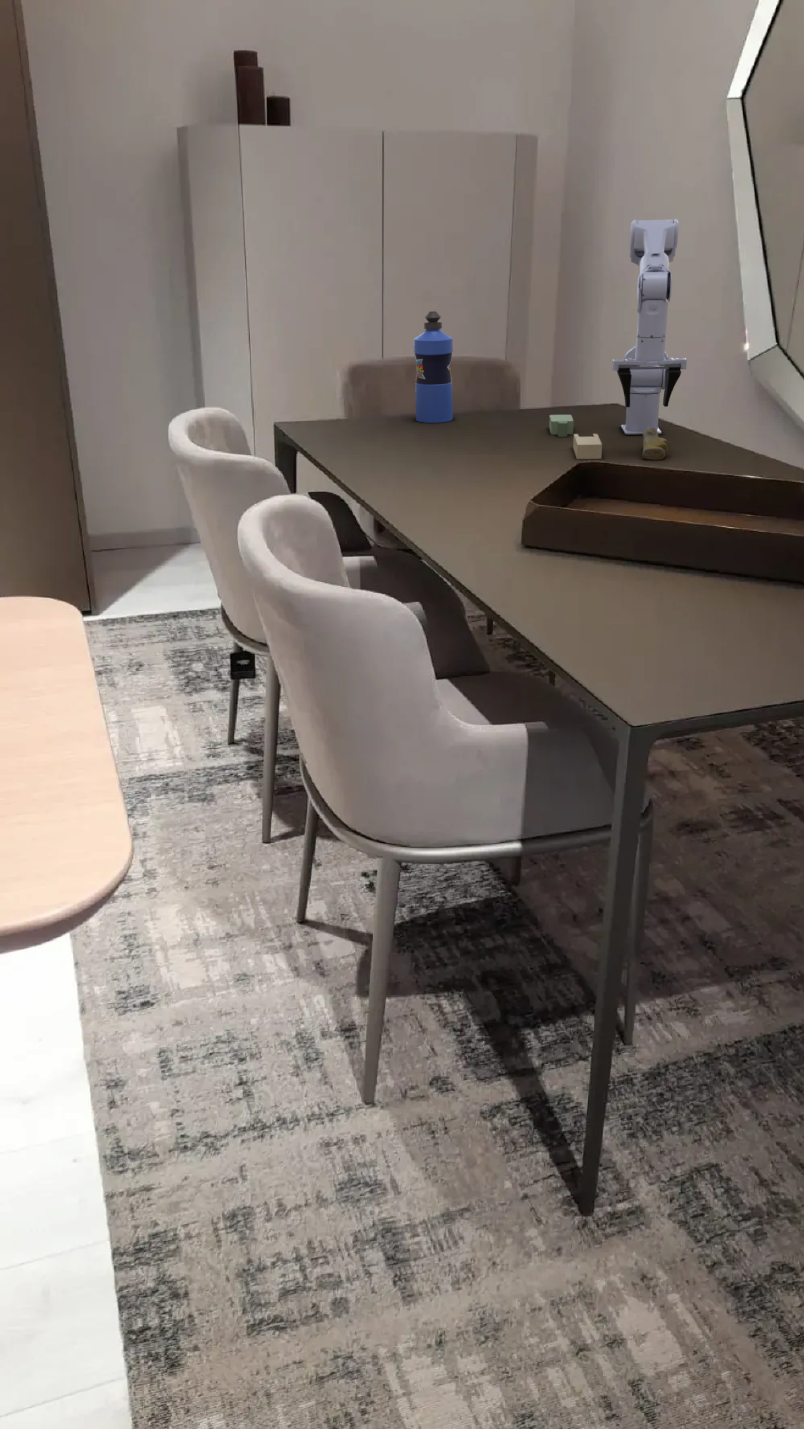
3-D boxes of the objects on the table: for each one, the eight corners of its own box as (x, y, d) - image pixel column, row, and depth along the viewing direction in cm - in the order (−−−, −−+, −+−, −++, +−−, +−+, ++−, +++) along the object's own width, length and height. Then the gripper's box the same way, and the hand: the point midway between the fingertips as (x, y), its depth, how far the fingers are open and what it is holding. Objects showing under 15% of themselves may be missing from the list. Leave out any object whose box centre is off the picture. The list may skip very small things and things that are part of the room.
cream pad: (573, 448, 236) (573, 434, 235) (596, 447, 236) (597, 433, 235) (576, 459, 226) (577, 444, 225) (601, 459, 226) (602, 444, 225)
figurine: (675, 449, 222) (670, 424, 234) (651, 438, 221) (647, 413, 234) (662, 471, 225) (658, 445, 237) (638, 460, 224) (635, 435, 236)
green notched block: (549, 428, 257) (549, 414, 256) (570, 427, 257) (571, 414, 256) (551, 436, 248) (551, 423, 247) (573, 436, 247) (574, 423, 246)
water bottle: (420, 424, 266) (418, 314, 255) (411, 417, 274) (409, 311, 264) (457, 421, 268) (457, 312, 257) (447, 414, 276) (446, 309, 266)
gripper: (616, 339, 216) (612, 410, 222) (691, 338, 215) (685, 409, 221) (612, 335, 222) (609, 404, 228) (685, 333, 221) (679, 402, 227)
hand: (646, 406), depth 225 cm, fingers open, 7 cm apart
